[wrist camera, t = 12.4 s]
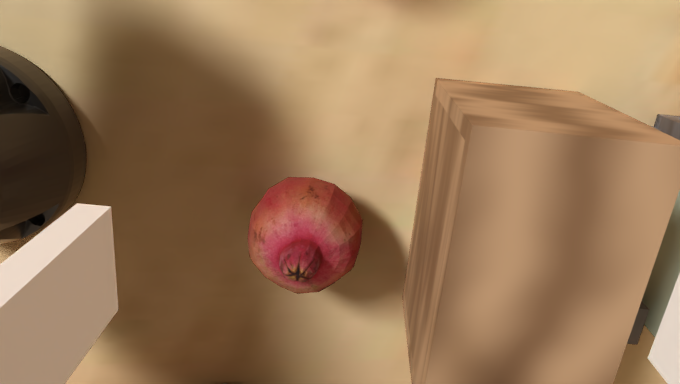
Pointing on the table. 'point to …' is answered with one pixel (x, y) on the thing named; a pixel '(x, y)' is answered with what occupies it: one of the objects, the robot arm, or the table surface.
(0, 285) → the robot arm
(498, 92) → the wooden shelf unit
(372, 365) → the table surface
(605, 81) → the table surface
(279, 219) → the fruit
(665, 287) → the door
